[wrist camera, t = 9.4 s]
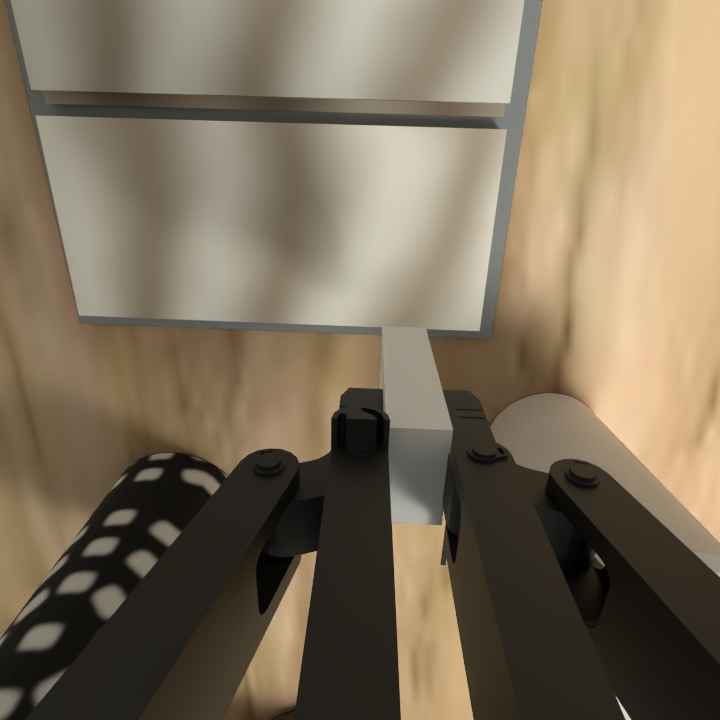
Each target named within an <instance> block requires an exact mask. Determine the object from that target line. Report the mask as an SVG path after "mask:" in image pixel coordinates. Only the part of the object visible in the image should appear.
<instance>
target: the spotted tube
mask: <svg viewBox="0 0 720 720" xmlns="http://www.w3.org/2000/svg"><path fill="white" fill-rule="evenodd" d="M227 477H228V476H227V475H226V474H225V473H224V472H222V471H221V470H220V469H218V468H217V467H215V466H214V465H212V464H210V463H208V462H206V461H204V460H202V459H199V458H196V457H193V456H190V455H185V454H179V453H160V454H154V455H149V456H147V457H144V458H141V459H139V460H138V461H136V462H135V463H133V464H131V465H130V466H129V467H128V468H127V469H126V471H125V472H124V473H123V474H122V475H121V477H120V478H119V479H118V481H117V482H116V484H115V485H114V486H113V488H112V489H111V490H110V492H109V493H108V494H107V496H106V497H105V498H104V500H103V501H102V502H101V504H100V505H99V506H98V508H97V509H96V510H95V512H94V513H93V514H92V516H91V517H90V519H89V520H88V521H87V523H86V524H85V525H84V527H83V528H82V529H81V531H80V532H79V533H78V535H77V536H76V537H75V539H74V540H73V541H72V543H71V544H70V545H69V547H68V548H67V550H66V551H65V552H64V554H63V555H62V556H61V558H60V559H59V560H58V562H57V563H56V564H55V566H54V567H53V568H52V570H51V571H50V572H49V574H48V575H47V576H46V578H45V579H44V580H43V582H42V583H41V585H40V586H39V587H38V589H37V590H36V591H35V593H34V594H33V595H32V597H31V598H30V599H29V601H28V602H27V603H26V605H25V606H24V607H23V609H22V610H21V611H20V613H19V614H18V616H17V617H16V618H15V620H14V621H13V622H12V624H11V625H10V626H9V628H8V629H7V630H6V632H5V633H4V634H3V636H2V637H1V638H0V720H25V719H26V718H27V716H28V715H29V714H30V713H31V712H32V710H33V709H34V708H35V707H36V706H37V704H38V703H39V702H40V701H41V700H42V698H43V697H44V696H45V695H46V694H47V692H48V691H49V690H50V689H51V688H52V686H53V685H54V684H55V683H56V682H57V680H58V679H59V678H60V677H61V676H62V674H63V673H64V672H65V671H66V670H67V669H68V667H69V666H70V665H71V664H72V663H73V661H74V660H75V659H76V658H77V657H78V655H79V654H80V653H81V652H82V651H83V649H84V648H85V647H86V646H87V645H88V643H89V642H90V641H91V640H92V639H93V637H94V636H95V635H96V634H97V633H98V631H99V630H100V629H101V628H102V627H103V625H104V624H105V623H106V622H107V621H108V619H109V618H110V617H111V616H112V615H113V613H114V612H115V611H116V610H117V609H118V608H119V606H120V605H121V604H122V603H123V602H124V600H125V599H126V598H127V597H128V596H129V594H130V593H131V592H132V591H133V590H134V588H135V587H136V586H137V585H138V584H139V582H140V581H141V580H142V579H143V578H144V576H145V575H146V574H147V573H148V572H149V570H150V569H151V568H152V567H153V566H154V564H155V563H156V562H157V561H158V560H159V558H160V557H161V556H162V555H163V554H164V552H165V551H166V550H167V549H168V548H169V547H170V545H171V544H172V543H173V542H174V541H175V539H176V538H177V537H178V536H179V535H180V533H181V532H182V531H183V530H184V529H185V527H186V526H187V525H188V524H189V523H190V521H191V520H192V519H193V518H194V517H195V515H196V514H197V513H198V512H199V511H200V509H201V508H202V507H203V506H204V505H205V503H206V502H207V501H208V500H209V499H210V497H211V496H212V495H213V494H214V493H215V492H216V490H217V489H218V488H219V487H220V486H221V484H222V483H223V482H224V481H225V480H226V478H227Z"/></svg>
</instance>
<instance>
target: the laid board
mask: <svg viewBox="0 0 720 720" xmlns="http://www.w3.org/2000/svg"><path fill="white" fill-rule="evenodd" d="M11 4H12V8H13V13H14V17H15V22H16V26H17V30H18V35H19V39H20V44H21V48H22V52H23V57H24V61H25V65H26V70H27V74H28V79H29V83H30V87H31V90H40V91H43V94H44V99H45V103H46V104H63V105H97V106H132V107H166V108H200V109H235V110H269V111H303V112H338V113H372V114H407V115H441V116H475V117H504V112H505V105H506V104H509V103H510V100H511V93H512V86H513V78H514V71H515V64H516V57H517V50H518V43H519V35H520V28H521V21H522V14H523V7H524V0H11Z"/></svg>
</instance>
